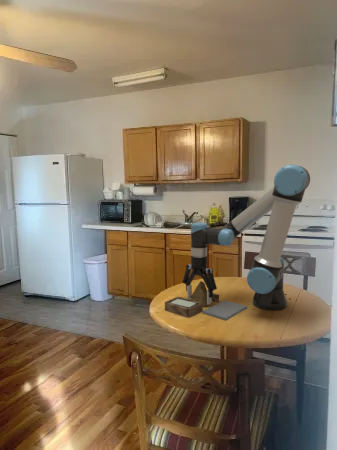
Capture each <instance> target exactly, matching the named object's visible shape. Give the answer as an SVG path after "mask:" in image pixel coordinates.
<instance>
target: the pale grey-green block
mask: <svg viewBox="0 0 337 450" xmlns="http://www.w3.org/2000/svg"><path fill="white" fill-rule="evenodd" d="M171 303H172V304H175V305H178V306H182V307H185V308H188V309H189V308H191V307H193V306H195V305H196V303H194V302H190V301H185V300H181V299H176V300H174V301H173V302H171Z"/></svg>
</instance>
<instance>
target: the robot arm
mask: <svg viewBox="0 0 337 450" xmlns="http://www.w3.org/2000/svg"><path fill="white" fill-rule="evenodd" d="M273 178H274V180H273V185H274V186H273V187H272V188H270V189H269V190H268V191H266V193H264V194H263V195H262V196H261V197H259V198H258V199H256V201H254V202H253V203H252V204H250V206H248V207H247V208H245V209H244V210H243V211H242V212H241V213H239V214H238V215H237V216H235V217H234V218H233V219H232V220H230V221H229V222H228V223H227V224H225V225H224V226H220V227H218V228H214V227H209V226H208V224H207V223H206V222H193V223H192V224H191V227H190V240H191V241H190V242H191V243H190V245H191V246H190V256H191V257H190V264H189V263H188V264H186V265H185V267H186V268H185V273H184V276H183V279H182V284H185V291H186V294H187V295H186V299H191V296H192V294H193V289H192V288H193V285H192V282H193V280H194V279H195V277H196V276H199V277H201V279H202V280H203V282H204V283H205V286H206V289H207V305H208V306H209V305H210V304H212V302H213V301H212V297H213V293H214V291H216V290H217V289H218V287H217V283H216V280H215V277H214V274H213V272H214V270H213V268H210V267H209V268H208V267H207V265H208V256H207V255H208V245H213V246H214V245H215V246H222V247H227V246H228V247H229V246H232V244H233V243H234V240H235V239H236V238H238V236H240V235H241V234H242V233H243V232H245V231H246V230H248V228H250V227H251V226H252V225H254V224H255V223H257V222H258V221H260V219H262V218H263V217H264V216H265V215H267V214H268V213H269V212H270V214H269V215H270V216H269V219H268V222H267V226H266V230H265V233H264V237H263V239H262V244H261V247H260V250H259V253H258V255H256V256H254V258H253V262H252V266H251V268H250V270H249V271H248V272H247V277H246V282H247V285H248V286H249V288H250V289H251V290H252V291H253V292H254V295H253V297H252V304H253V306H255V307H257V308H259V309H262V310H269V311H278V310H283V309H285V308H287V305H288V303H287V297H286V295H285V292H284V271H285V268H284V267H285V260H284V257H282V254H283V251H284V247H285V244H286V241H287V237H288V234H289V230H290V227H291V224H292V221H293V217H294V214H295V211H296V209H297V208H296V207H297V206H298V205H300V204H301V203H302V202H303V199H304V195H305V192H306V189H308V187H309V186H310V183H311V175H310V173H309V171H308V170H307V169H306V168H305V167H303V166H300V165H297V164H288V165H284V166H283V167H281V168H280V169H279V170H278V171H277V172H276V173H275V176H274V177H273Z"/></svg>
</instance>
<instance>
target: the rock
mask: <svg viewBox="0 0 337 450" xmlns="http://www.w3.org/2000/svg"><path fill="white" fill-rule="evenodd" d="M207 291H208V288H207V286H206V284H205V282H204V281H202V280H200V281H199V283H198V284H197V285H196V287H195V289H194V291H192V296H191V298H190V300H193V301H197V302H200V303H202V304H203V307H208V306H209V305H207Z"/></svg>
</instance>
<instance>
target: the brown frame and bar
mask: <svg viewBox="0 0 337 450" xmlns="http://www.w3.org/2000/svg"><path fill="white" fill-rule="evenodd" d="M176 299H181V300H185V301H190V302H194V303H196V305H195V306H193V307H191V308H189V309H188V308H185V307H182V306H178V305H175V304H172V303H171V302H173V301H174V300H176ZM190 299H191V298H190ZM190 299H187V297H186V298H185V297H183V296H176V297H174V298H171V299H168V300H166V301H164V310H165V311H167V312H170V313H173V314H176V315H179V316H182V317H185V318H192V317H194V316H196V315H198V314H200V313H202V311H204V310H203V307H204V306H203V304H202V303H200V302H197V301H193V300H190ZM212 302H216V303H220V294H217V293H214V292H213V297H212Z"/></svg>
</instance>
